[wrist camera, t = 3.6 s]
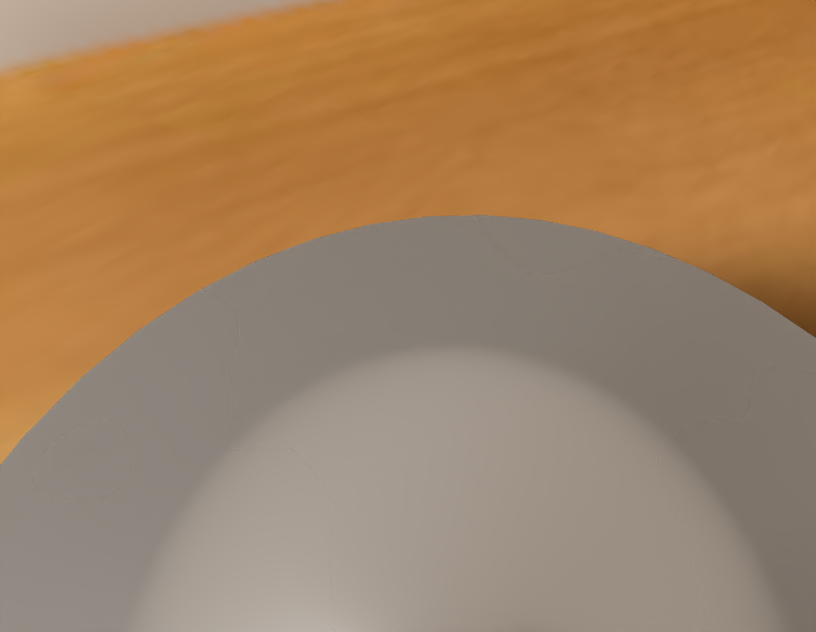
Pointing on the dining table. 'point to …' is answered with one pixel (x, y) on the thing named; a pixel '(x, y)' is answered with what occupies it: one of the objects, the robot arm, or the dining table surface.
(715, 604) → the cylinder
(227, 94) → the dining table surface
